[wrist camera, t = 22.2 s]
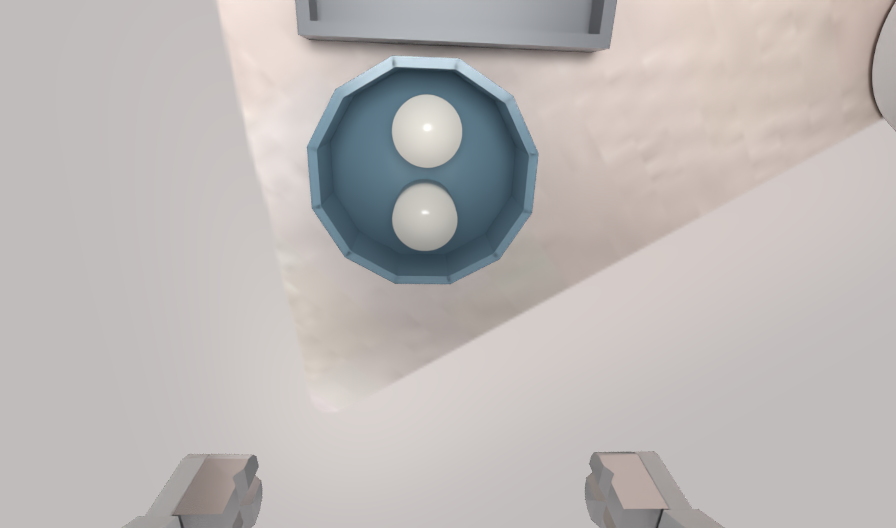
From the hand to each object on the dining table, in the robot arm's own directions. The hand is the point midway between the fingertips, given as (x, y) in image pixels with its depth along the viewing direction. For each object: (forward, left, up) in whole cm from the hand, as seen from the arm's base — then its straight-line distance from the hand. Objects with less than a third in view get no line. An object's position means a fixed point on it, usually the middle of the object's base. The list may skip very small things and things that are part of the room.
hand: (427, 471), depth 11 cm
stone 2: (0, 0, -25) cm, 25 cm away
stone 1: (0, -6, -25) cm, 26 cm away
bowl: (0, -3, -26) cm, 26 cm away
